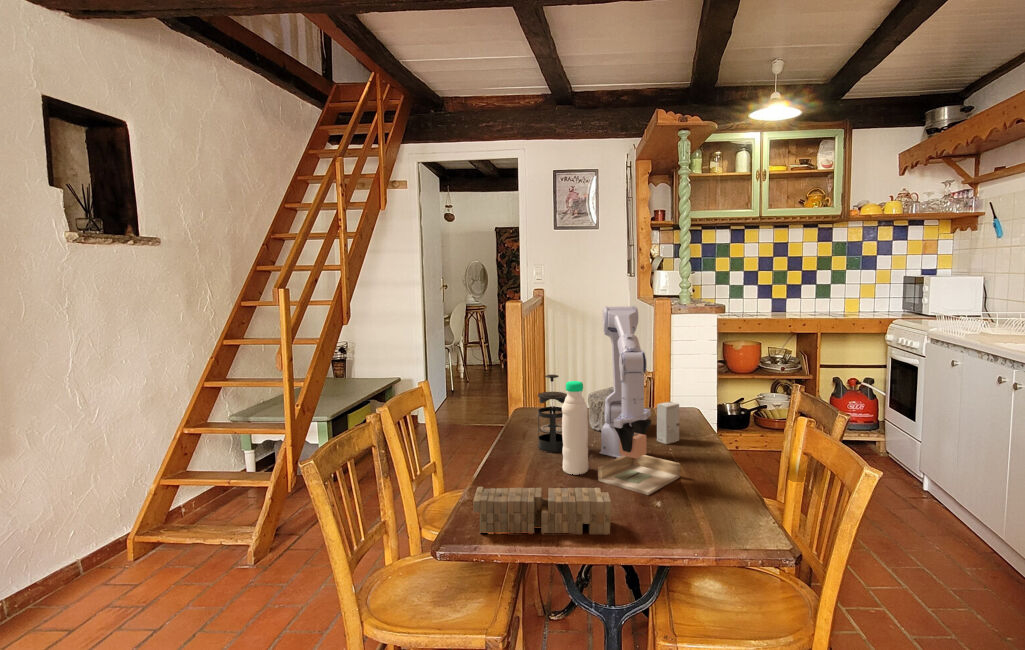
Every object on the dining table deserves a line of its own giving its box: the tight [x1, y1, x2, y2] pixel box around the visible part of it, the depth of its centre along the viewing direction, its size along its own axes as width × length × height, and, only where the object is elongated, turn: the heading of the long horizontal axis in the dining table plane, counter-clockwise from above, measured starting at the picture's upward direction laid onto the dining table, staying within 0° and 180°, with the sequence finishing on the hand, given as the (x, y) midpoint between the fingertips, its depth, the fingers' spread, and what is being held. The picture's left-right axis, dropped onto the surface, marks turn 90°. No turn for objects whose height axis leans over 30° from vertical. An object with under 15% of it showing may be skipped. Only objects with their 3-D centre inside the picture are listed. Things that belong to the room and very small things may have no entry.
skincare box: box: [656, 401, 680, 445], centre depth 189 cm, size 6×4×12 cm
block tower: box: [472, 486, 612, 535], centre depth 131 cm, size 8×8×29 cm
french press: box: [537, 374, 567, 453], centre depth 185 cm, size 12×9×23 cm
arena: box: [597, 454, 681, 496], centre depth 158 cm, size 15×16×4 cm
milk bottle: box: [561, 380, 589, 476], centre depth 164 cm, size 7×7×25 cm
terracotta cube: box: [620, 433, 647, 459], centre depth 157 cm, size 5×5×5 cm
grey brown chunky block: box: [587, 386, 622, 432], centre depth 205 cm, size 19×17×15 cm
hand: (632, 448), depth 157 cm, fingers closed on terracotta cube, 5 cm apart
